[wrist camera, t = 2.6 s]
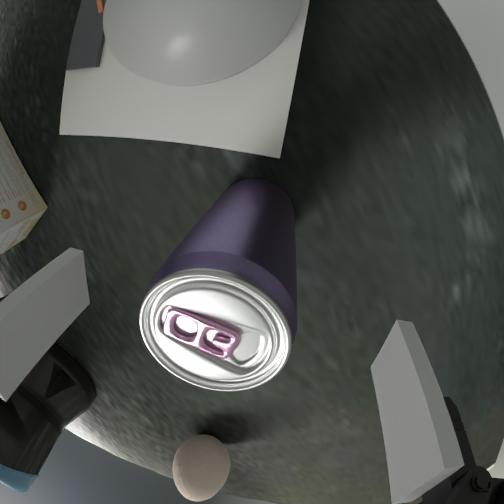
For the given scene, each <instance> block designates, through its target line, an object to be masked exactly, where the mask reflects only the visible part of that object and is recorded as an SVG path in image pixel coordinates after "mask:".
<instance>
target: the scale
mask: <svg viewBox="0 0 504 504" xmlns="http://www.w3.org/2000/svg"><path fill="white" fill-rule="evenodd" d="M309 1H310V0H82V1H81V5H80V8H79V12H78V15H77V19H76V23H75V27H74V31H73V36H72V40H71V45H70V50H69V55H68V60H67V66H66V75H65V82H64V89H63V98H62V107H61V118H60V132H59V135H87V136H109V137H125V138H138V139H149V140H159V141H169V142H178V143H186V144H194V145H201V146H209V147H216V148H222V149H229V150H235V151H241V152H247V153H252V154H258V155H263V156H269V157H274V158H279V159H280V156H281V151H282V146H283V140H284V135H285V130H286V125H287V120H288V114H289V109H290V104H291V99H292V93H293V88H294V83H295V77H296V72H297V67H298V61H299V56H300V50H301V45H302V39H303V34H304V28H305V23H306V17H307V12H308V6H309Z"/></svg>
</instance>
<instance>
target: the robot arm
mask: <svg viewBox="0 0 504 504" xmlns="http://www.w3.org/2000/svg"><path fill="white" fill-rule="evenodd" d="M89 304H90V300H89V294H88V287H87V280H86V272H85V263H84V254H83V251H81V250H78V249H74V248H71V247H70V248H69V249H67V250H66V251H65V252H63V253H62V254H61V255H59V256H58V257H56V258H55V259H54V260H52V261H51V262H50V263H48V264H47V265H46V266H44V267H43V268H42V269H41V270H39V271H38V272H37V273H35V274H34V275H33V276H31V277H30V278H29V279H28V280H26V281H25V282H24V283H23V284H21V285H20V286H19V287H18V288H17V289H15V290H14V291H13V292H12V293H10V294H9V295H6V296H4V297H2V298H0V482H1V483H2V484H4V485H6V486H7V487H9V488H11V489H13V490H15V491H18V492H26V491H27V490H28V489H29V488H30V487H31V485H32V483H33V482H34V481H35V479H36V478H37V477H38V476H39V472H40V470H41V468H42V466H43V464H44V463H45V461H46V459H47V457H48V455H49V453H50V452H51V450H52V448H53V446H54V444H55V443H56V441H57V439H58V437H59V436H60V434H61V432H62V431H63V429H64V428H65V426H67V425H68V424H69V423H71V422H72V421H73V420H75V419H76V418H77V417H79V416H80V415H81V414H82V413H84V412H85V411H86V410H88V409H89V407H90V406H91V404H92V402H93V401H94V399H95V389H94V386H93V384H92V382H91V381H90V379H89V377H88V376H87V374H86V373H85V372H84V370H83V369H82V368H81V367H80V366H79V365H78V364H77V362H76V361H75V360H74V359H73V358H72V357H70V356H69V355H68V354H67V353H66V352H65V351H64V350H62V349H61V348H60V347H58V346H57V345H56V344H54V342H55V341H56V340H57V339H58V338H59V337H60V336H61V334H62V333H63V332H64V331H65V330H66V329H67V328H68V327H69V325H70V324H71V323H72V322H73V321H74V320H75V319H76V318H77V317H78V316H79V314H80V313H81V312H82V311H83V310H84V309H85V308H86V307H87V306H88V305H89ZM371 372H372V377H373V382H374V386H375V391H376V397H377V402H378V407H379V413H380V418H381V424H382V430H383V436H384V443H385V449H386V456H387V464H388V471H389V480H390V489H391V499H392V504H399V503H406V502H411V501H413V500H415V499H416V498H418V497H420V496H421V495H422V500H423V501H422V502H421V503H419V504H504V479H499V478H492V477H491V475H490V473H489V472H488V471H487V470H486V469H485V468H483V467H480V466H476V463H475V461H474V457H473V454H472V450H471V447H470V444H469V441H468V437H467V434H466V431H464V425H463V423H462V421H461V417H460V414H459V411H458V409H457V407H456V405H455V404H454V403H453V401H452V400H451V399H450V397H443V395H442V393H441V390H440V387H439V385H438V382H437V379H436V377H435V374H434V372H433V369H432V367H431V364H430V362H429V359H428V357H427V355H426V352H425V350H424V348H423V345H422V343H421V341H420V338H419V336H418V334H417V332H416V329H415V327H414V325H413V323H412V322H408V321H402V320H396V322H395V324H394V326H393V328H392V330H391V332H390V333H389V335H388V337H387V339H386V341H385V343H384V345H383V346H382V348H381V350H380V352H379V354H378V355H377V357H376V359H375V361H374V362H373V364H372V366H371Z"/></svg>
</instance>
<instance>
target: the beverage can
mask: <svg viewBox="0 0 504 504" xmlns="http://www.w3.org/2000/svg"><path fill="white" fill-rule="evenodd" d="M139 325H140V331H141V334H142V337H143V340H144V342H145V344H146V346H147V348H148V349H149V351H150V352H151V354H152V355H153V356H154V358H155V359H156V360H157V361H158V362H159V363H160V364H161V365H162V366H163V367H164V368H166V369H167V370H168V371H169V372H171V373H172V374H174V375H175V376H177V377H179V378H180V379H182V380H184V381H186V382H188V383H191V384H193V385H196V386H199V387H202V388H206V389H211V390H217V391H241V390H247V389H251V388H254V387H257V386H260V385H262V384H264V383H266V382H268V381H269V380H271V379H272V378H274V377H275V376H276V375H277V374H278V373H279V372H280V371H281V370H282V369H283V367H284V366H285V364H286V362H287V361H288V358H289V356H290V352H291V347H292V344H293V341H294V339H295V336H296V331H297V275H296V243H295V219H294V209H293V205H292V202H291V200H290V198H289V197H288V195H287V194H286V193H285V191H284V190H283V189H282V188H280V187H279V186H278V185H276V184H275V183H273V182H271V181H268V180H265V179H260V178H249V179H244V180H241V181H238V182H236V183H235V184H233V185H232V186H230V187H229V188H228V189H227V190H226V191H225V192H224V193H223V194H222V196H221V197H220V198H219V199H218V200H217V201H216V202H215V203H214V205H213V206H212V207H211V208H210V209H209V210H208V211H207V213H206V214H205V215H204V216H203V217H202V218H201V219H200V221H199V222H198V223H197V224H196V225H195V226H194V228H193V229H192V230H191V231H190V232H189V234H188V235H187V236H186V237H185V238H184V239H183V241H182V242H181V243H180V244H179V245H178V247H177V248H176V249H175V250H174V251H173V253H172V254H171V255H170V256H169V257H168V259H167V260H166V261H165V262H164V264H163V265H162V266H161V267H160V269H159V270H158V271H157V272H156V273H155V275H154V276H153V278H152V280H151V281H150V284H149V286H148V289H147V293H146V296H145V297H144V299H143V302H142V304H141V308H140V312H139Z"/></svg>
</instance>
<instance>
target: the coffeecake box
mask: <svg viewBox="0 0 504 504" xmlns="http://www.w3.org/2000/svg"><path fill="white" fill-rule="evenodd" d="M47 208H48V207H47V205H46V204H45V202H44V201H43V199H42V197H41V196H40V194H39V193H38V191H37V189H36V188H35V186H34V184H33V182H32V181H31V179H30V177H29V176H28V174H27V172H26V170H25V168H24V167H23V165H22V163H21V161H20V159H19V158H18V156H17V154H16V152H15V150H14V148H13V146H12V144H11V142H10V140H9V138H8V136H7V134H6V132H5V130H4V128H3V126H2V123H1V121H0V255H1V254H2V253H4V252H5V251H7V250H8V249H10V248H11V247H13V246H14V245H16V244H17V243H19V242H20V241H22V240H23V239H25V238H26V237H27V235H28V234H29V232H30V231H31V230H32V228H33V226H34V225H35V224H36V222H37V221H38V220H39V218H40V217H41V216H42V214H43V213H44V212H45V210H46V209H47Z"/></svg>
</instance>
